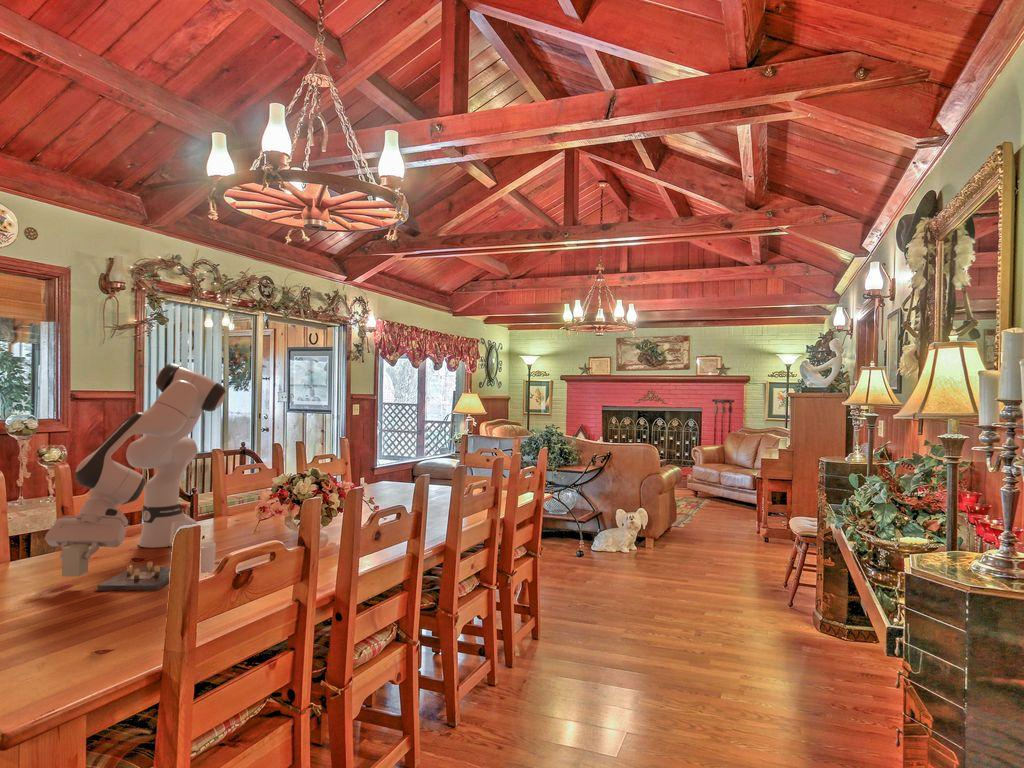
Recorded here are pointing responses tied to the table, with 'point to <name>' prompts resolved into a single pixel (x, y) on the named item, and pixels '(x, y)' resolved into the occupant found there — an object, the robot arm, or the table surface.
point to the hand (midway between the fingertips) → (74, 558)
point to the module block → (74, 560)
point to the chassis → (138, 579)
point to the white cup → (207, 556)
